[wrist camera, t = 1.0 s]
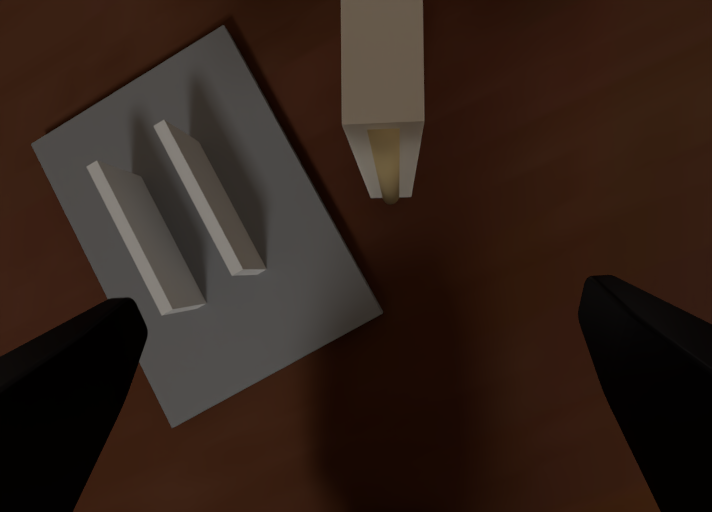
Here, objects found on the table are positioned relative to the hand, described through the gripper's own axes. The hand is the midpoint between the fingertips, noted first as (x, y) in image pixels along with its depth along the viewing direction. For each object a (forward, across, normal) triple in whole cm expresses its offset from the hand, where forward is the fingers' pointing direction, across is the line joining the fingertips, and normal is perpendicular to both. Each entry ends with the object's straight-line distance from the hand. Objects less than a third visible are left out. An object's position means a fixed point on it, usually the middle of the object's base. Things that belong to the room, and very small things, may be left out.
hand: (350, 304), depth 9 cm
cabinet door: (+16, -1, +2) cm, 16 cm away
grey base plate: (+14, +10, +5) cm, 18 cm away
